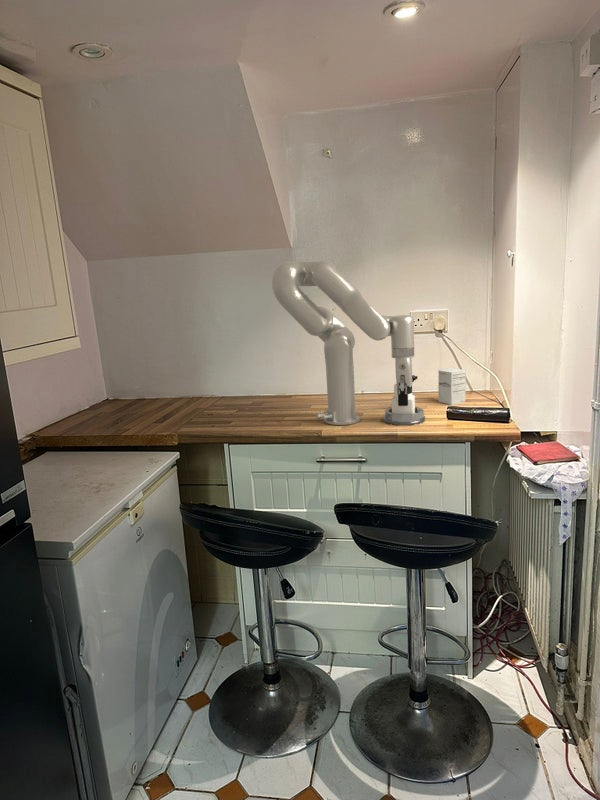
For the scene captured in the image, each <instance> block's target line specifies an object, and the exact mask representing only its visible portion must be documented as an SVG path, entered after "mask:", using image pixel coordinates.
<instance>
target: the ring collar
mask: <svg viewBox="0 0 600 800" xmlns="http://www.w3.org/2000/svg"><path fill="white" fill-rule="evenodd" d="M425 421H426V416H425V411H424V408H421V407H418V406H415V413H412V414H394V413H392V406H391V407H388V408H387V409H384V417H383V422H384V423H385V424H387V425H391V424H392V425H391V426H398V425H409V426H415V425H414V424H417V425H421V424H423V423H425ZM420 423H421V424H420Z"/></svg>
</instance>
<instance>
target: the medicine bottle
mask: <svg viewBox="0 0 600 800" xmlns="http://www.w3.org/2000/svg"><path fill="white" fill-rule="evenodd" d="M398 387H399V386H398ZM398 387H397V383H395V384H394V385H393V394H394V395H393V396H392V399H391V407H392V413H394V414H412V413H415V407H416V398H415V397H416V395H414V394H413V395H412V393H413V385H412V386H411V387H409V386H407V394H408V406H398V394H399V388H398Z"/></svg>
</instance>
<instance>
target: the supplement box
mask: <svg viewBox="0 0 600 800" xmlns="http://www.w3.org/2000/svg"><path fill="white" fill-rule="evenodd" d="M466 373H467V371H466V369H461V368H455V367H448V368H443V369H438V399H437V400H438V403H443V404H446V405H450V406H455V405H458V404H459V403H460V404H463V402H464V403H466V384H467V383H466V380H467V378H466ZM460 404H459V405H460Z"/></svg>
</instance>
